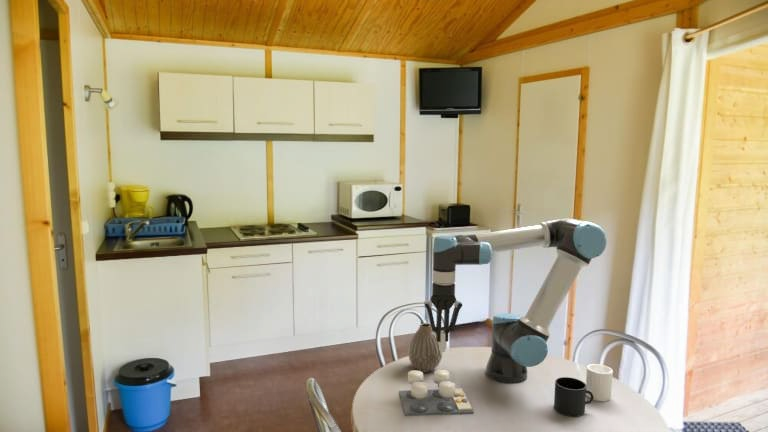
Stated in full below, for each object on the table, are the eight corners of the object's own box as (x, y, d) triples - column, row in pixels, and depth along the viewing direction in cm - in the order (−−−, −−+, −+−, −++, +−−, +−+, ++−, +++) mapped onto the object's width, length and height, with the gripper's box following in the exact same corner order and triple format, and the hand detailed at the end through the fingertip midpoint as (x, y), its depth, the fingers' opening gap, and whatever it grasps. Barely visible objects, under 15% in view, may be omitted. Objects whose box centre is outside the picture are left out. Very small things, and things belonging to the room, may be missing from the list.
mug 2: (596, 385, 182) (598, 358, 181) (615, 400, 170) (617, 373, 169) (575, 386, 181) (577, 359, 180) (593, 402, 169) (594, 374, 168)
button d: (425, 396, 165) (426, 381, 165) (428, 403, 160) (428, 388, 160) (410, 396, 165) (410, 382, 164) (412, 404, 160) (412, 389, 159)
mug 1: (596, 418, 158) (598, 391, 157) (557, 416, 160) (558, 388, 159) (588, 404, 167) (590, 378, 166) (551, 401, 169) (552, 376, 168)
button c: (421, 383, 174) (421, 370, 174) (424, 390, 169) (424, 376, 168) (406, 384, 174) (407, 370, 173) (408, 391, 169) (408, 377, 168)
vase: (443, 376, 188) (444, 331, 186) (408, 375, 188) (409, 330, 186) (440, 362, 201) (441, 319, 199) (407, 361, 201) (407, 319, 199)
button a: (447, 383, 175) (447, 369, 174) (450, 390, 170) (450, 375, 169) (432, 383, 174) (432, 369, 174) (435, 390, 169) (435, 376, 169)
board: (461, 390, 177) (461, 386, 176) (473, 413, 161) (473, 408, 161) (399, 392, 175) (399, 388, 175) (405, 415, 159) (405, 411, 159)
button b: (452, 395, 166) (453, 380, 165) (456, 403, 161) (456, 388, 160) (437, 395, 166) (437, 381, 165) (440, 403, 160) (440, 388, 160)
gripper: (460, 279, 172) (458, 346, 175) (422, 279, 171) (421, 346, 174) (465, 285, 165) (463, 354, 167) (426, 285, 164) (424, 355, 166)
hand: (441, 350), depth 171 cm, fingers closed
